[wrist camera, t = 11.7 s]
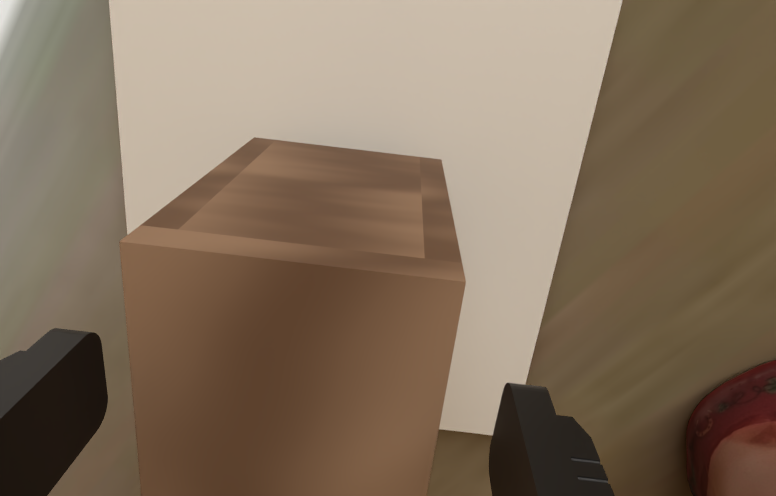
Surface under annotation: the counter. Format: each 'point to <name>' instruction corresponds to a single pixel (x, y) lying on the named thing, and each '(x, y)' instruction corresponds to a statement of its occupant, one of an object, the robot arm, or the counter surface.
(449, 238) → the brown wooden block
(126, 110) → the post board
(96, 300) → the counter surface
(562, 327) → the counter surface
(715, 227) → the counter surface
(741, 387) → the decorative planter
